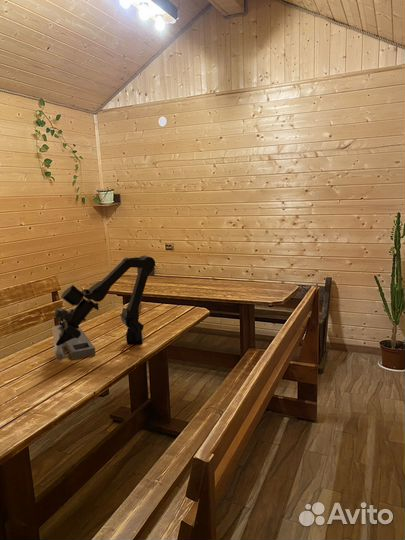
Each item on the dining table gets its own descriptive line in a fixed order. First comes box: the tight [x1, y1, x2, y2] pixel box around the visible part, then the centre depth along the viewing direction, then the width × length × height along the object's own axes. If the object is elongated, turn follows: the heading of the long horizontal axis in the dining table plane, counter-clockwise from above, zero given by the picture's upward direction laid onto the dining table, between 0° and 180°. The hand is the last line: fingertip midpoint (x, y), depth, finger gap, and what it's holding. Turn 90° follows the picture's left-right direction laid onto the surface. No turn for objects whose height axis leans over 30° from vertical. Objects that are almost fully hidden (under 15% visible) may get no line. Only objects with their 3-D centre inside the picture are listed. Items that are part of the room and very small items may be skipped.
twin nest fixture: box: [65, 328, 96, 360], centre depth 171 cm, size 9×28×3 cm, turn 28°
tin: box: [126, 301, 142, 314], centre depth 215 cm, size 15×3×8 cm, turn 168°
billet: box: [51, 324, 67, 360], centre depth 159 cm, size 4×4×13 cm
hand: (55, 342), depth 158 cm, fingers open, 6 cm apart
